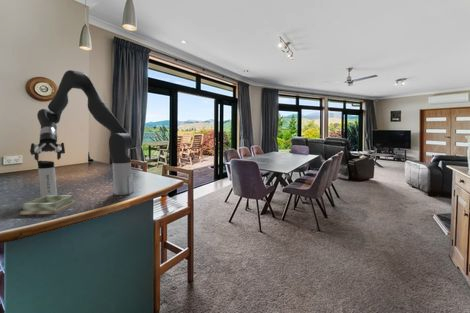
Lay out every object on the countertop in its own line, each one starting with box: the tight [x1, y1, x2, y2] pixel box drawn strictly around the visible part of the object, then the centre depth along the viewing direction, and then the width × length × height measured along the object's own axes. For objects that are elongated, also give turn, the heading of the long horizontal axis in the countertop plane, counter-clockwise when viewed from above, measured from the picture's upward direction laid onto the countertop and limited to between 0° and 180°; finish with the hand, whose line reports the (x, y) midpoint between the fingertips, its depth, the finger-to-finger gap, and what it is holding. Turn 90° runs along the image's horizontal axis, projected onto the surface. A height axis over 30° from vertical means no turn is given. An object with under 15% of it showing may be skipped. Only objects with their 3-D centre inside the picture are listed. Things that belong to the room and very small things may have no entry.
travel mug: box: [36, 160, 58, 197], centre depth 112 cm, size 6×7×20 cm
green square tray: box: [19, 194, 77, 216], centre depth 102 cm, size 14×14×4 cm
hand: (48, 159), depth 119 cm, fingers open, 8 cm apart
